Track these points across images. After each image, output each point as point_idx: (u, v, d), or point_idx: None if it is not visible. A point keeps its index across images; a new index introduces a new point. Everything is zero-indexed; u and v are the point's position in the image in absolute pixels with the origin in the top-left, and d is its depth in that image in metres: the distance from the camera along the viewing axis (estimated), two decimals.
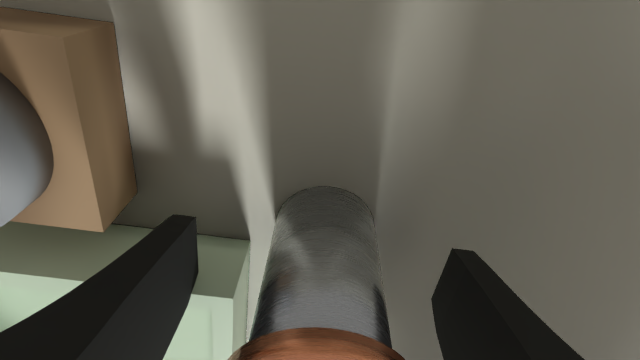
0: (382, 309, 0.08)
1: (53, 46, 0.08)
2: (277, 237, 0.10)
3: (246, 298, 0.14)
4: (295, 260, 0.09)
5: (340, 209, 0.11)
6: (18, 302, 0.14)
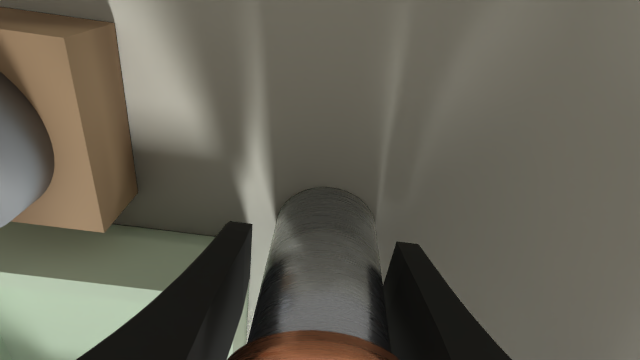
0: (381, 312, 0.08)
1: (54, 46, 0.08)
2: (277, 238, 0.10)
3: (247, 298, 0.14)
4: (294, 262, 0.09)
5: (340, 210, 0.11)
6: (19, 302, 0.14)
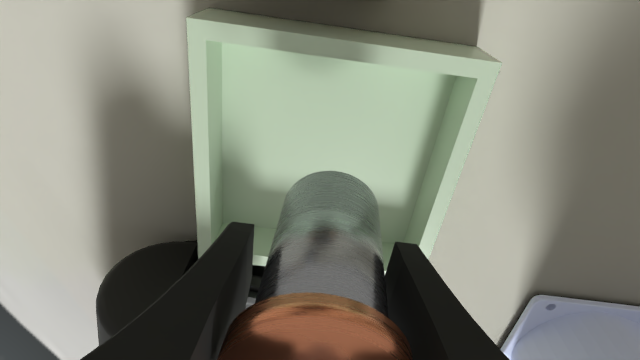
0: (382, 286, 0.09)
1: None
2: (285, 215, 0.11)
3: None
4: (302, 235, 0.09)
5: (347, 192, 0.11)
6: (253, 116, 0.16)
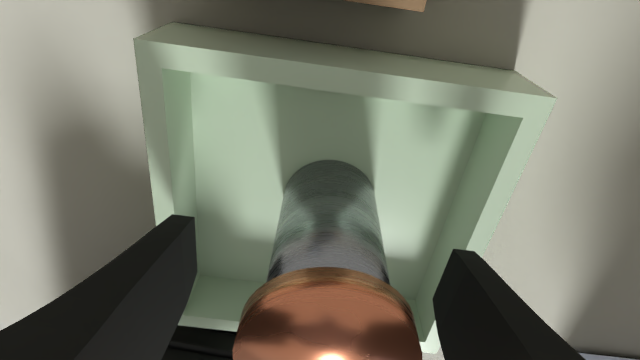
0: (384, 263, 0.10)
1: None
2: (288, 202, 0.11)
3: None
4: (307, 219, 0.10)
5: (346, 179, 0.12)
6: (232, 155, 0.13)
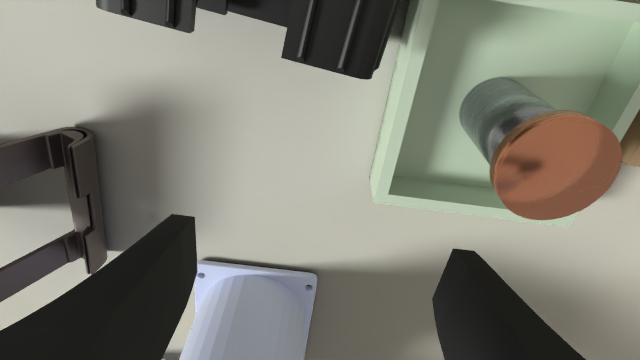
0: None
1: None
2: None
3: None
4: None
5: None
6: (549, 40, 0.17)
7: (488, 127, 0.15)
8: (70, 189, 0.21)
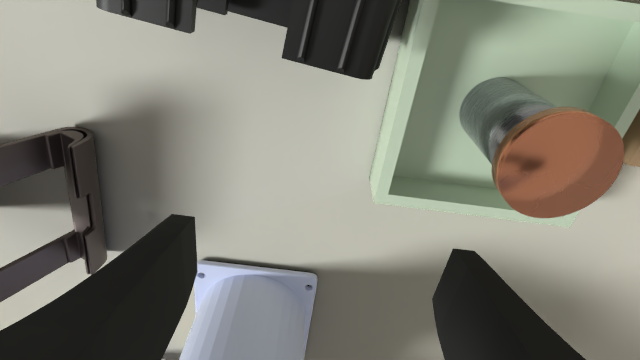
0: None
1: None
2: None
3: None
4: None
5: None
6: (549, 40, 0.17)
7: (488, 125, 0.15)
8: (70, 189, 0.21)
